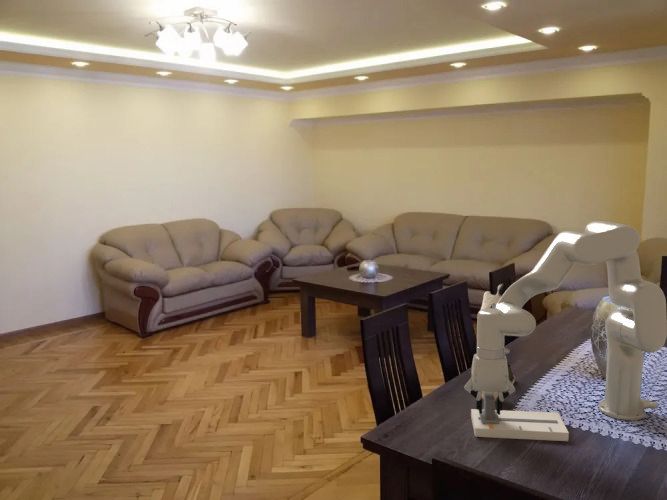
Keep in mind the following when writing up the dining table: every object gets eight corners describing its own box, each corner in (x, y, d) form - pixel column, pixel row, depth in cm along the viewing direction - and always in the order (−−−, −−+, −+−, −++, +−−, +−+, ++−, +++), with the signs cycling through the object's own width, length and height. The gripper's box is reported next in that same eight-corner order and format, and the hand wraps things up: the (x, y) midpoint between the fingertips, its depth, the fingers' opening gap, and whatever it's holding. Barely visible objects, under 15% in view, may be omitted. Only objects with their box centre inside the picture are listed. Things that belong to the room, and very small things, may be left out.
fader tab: (496, 413, 160) (496, 392, 159) (499, 423, 155) (499, 400, 153) (479, 412, 161) (479, 391, 160) (481, 422, 155) (481, 400, 154)
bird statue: (513, 396, 178) (516, 292, 172) (473, 388, 184) (475, 288, 179) (522, 377, 192) (525, 281, 187) (485, 371, 199) (487, 278, 193)
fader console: (557, 420, 161) (557, 412, 161) (568, 441, 149) (568, 432, 149) (471, 416, 165) (471, 408, 164) (475, 436, 153) (475, 428, 153)
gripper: (518, 348, 157) (517, 407, 160) (459, 346, 159) (458, 405, 162) (523, 357, 150) (521, 419, 153) (461, 356, 152) (460, 416, 155)
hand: (489, 411), depth 157 cm, fingers open, 4 cm apart
